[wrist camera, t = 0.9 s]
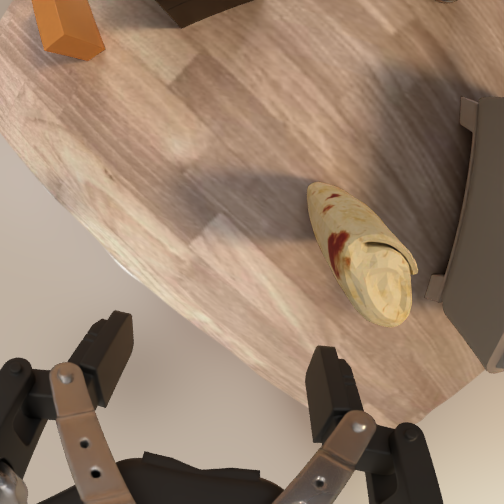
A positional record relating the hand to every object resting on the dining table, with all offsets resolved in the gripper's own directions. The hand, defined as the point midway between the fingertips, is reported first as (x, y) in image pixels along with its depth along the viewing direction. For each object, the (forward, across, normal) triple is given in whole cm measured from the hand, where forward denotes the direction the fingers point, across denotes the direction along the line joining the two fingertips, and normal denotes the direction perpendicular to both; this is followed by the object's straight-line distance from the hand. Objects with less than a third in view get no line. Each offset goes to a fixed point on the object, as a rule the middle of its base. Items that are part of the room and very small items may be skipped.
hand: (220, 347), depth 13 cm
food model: (+28, -11, 0) cm, 30 cm away
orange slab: (+27, +26, -21) cm, 43 cm away
